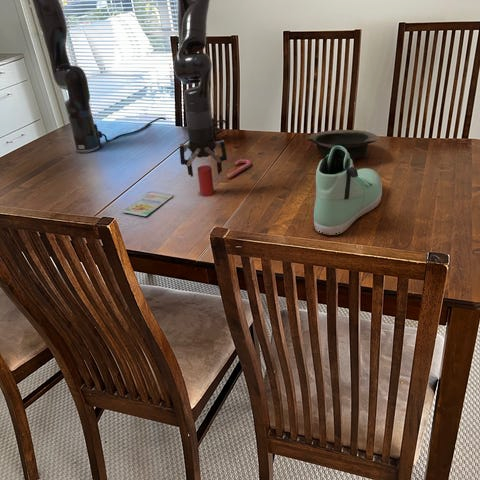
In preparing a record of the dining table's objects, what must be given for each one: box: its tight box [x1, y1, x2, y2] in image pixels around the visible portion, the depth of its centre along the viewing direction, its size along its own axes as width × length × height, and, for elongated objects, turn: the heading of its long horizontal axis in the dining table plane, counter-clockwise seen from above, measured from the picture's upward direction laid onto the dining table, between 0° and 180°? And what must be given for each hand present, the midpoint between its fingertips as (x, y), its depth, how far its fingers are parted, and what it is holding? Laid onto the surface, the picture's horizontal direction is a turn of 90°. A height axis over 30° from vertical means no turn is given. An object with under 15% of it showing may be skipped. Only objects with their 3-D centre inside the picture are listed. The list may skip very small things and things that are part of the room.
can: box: [196, 164, 215, 197], centre depth 152 cm, size 4×4×9 cm
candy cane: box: [226, 158, 252, 180], centre depth 168 cm, size 6×15×2 cm, turn 145°
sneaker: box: [313, 146, 383, 236], centre depth 133 cm, size 14×35×20 cm, turn 152°
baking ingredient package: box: [121, 191, 173, 217], centre depth 150 cm, size 9×1×15 cm
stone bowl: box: [307, 129, 380, 162], centre depth 171 cm, size 25×25×9 cm
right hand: (205, 174), depth 151 cm, fingers open, 8 cm apart
